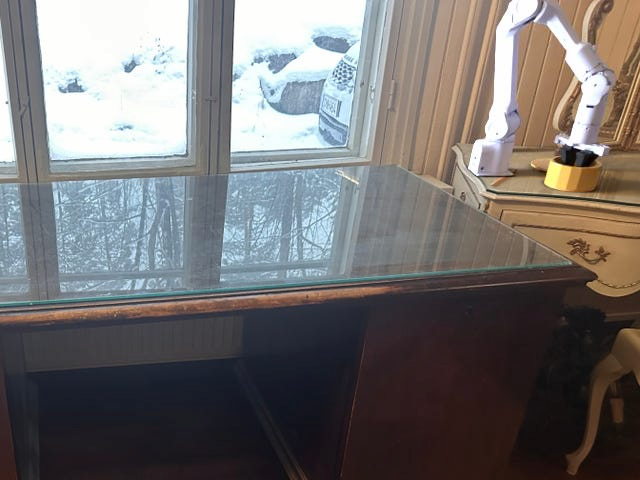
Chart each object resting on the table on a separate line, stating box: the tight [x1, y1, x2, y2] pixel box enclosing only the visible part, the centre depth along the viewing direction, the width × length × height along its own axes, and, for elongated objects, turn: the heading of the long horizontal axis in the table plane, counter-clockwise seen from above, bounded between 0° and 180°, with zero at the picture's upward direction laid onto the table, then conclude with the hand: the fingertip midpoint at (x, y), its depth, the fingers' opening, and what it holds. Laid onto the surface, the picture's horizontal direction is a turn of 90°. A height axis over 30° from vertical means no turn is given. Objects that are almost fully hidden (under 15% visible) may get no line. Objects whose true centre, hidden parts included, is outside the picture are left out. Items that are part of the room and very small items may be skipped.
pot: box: [544, 156, 604, 193], centre depth 173 cm, size 12×12×6 cm
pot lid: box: [530, 148, 561, 172], centre depth 186 cm, size 13×13×5 cm
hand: (571, 177), depth 173 cm, fingers closed on chili, 3 cm apart
